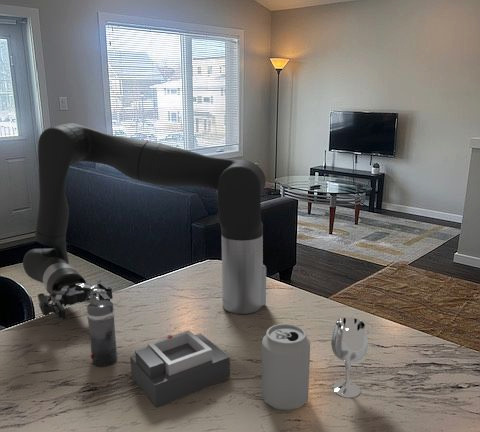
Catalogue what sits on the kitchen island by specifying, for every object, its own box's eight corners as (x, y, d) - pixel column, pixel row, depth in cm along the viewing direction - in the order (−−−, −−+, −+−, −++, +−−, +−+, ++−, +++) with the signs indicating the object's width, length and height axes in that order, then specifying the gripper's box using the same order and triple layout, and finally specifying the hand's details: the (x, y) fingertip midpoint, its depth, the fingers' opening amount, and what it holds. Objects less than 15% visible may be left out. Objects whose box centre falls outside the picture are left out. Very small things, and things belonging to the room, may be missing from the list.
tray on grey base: (201, 352, 91) (200, 322, 89) (230, 377, 83) (229, 344, 81) (131, 377, 83) (129, 344, 81) (156, 407, 75) (154, 372, 73)
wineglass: (344, 404, 75) (348, 336, 72) (321, 385, 80) (324, 320, 77) (371, 393, 78) (376, 327, 75) (348, 375, 83) (352, 313, 80)
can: (306, 417, 73) (309, 346, 69) (258, 410, 74) (258, 341, 71) (309, 387, 80) (312, 322, 77) (265, 382, 81) (265, 318, 78)
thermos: (112, 350, 91) (108, 297, 89) (121, 361, 88) (117, 306, 85) (87, 358, 89) (82, 304, 86) (95, 370, 85) (90, 313, 82)
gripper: (28, 274, 102) (46, 300, 89) (93, 261, 110) (119, 283, 97) (32, 306, 104) (50, 336, 91) (96, 291, 112) (122, 317, 99)
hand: (86, 309), depth 94 cm, fingers open, 8 cm apart
